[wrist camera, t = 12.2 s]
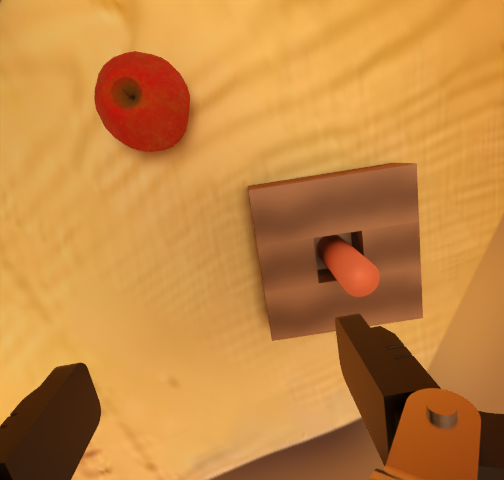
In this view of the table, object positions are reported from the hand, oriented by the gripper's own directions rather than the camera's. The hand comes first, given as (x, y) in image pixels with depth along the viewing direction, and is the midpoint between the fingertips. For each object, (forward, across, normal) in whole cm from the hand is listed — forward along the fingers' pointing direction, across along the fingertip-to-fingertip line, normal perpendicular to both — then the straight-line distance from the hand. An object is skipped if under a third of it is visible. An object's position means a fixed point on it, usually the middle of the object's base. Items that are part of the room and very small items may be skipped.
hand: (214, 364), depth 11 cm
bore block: (+28, -10, +6) cm, 30 cm away
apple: (+29, +6, -11) cm, 31 cm away
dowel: (+27, -10, +6) cm, 29 cm away
